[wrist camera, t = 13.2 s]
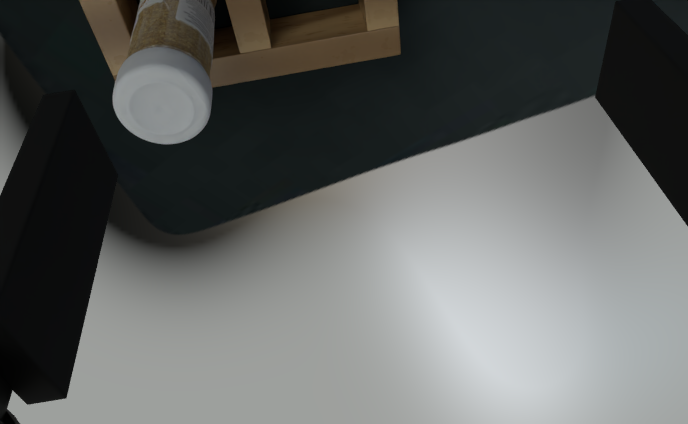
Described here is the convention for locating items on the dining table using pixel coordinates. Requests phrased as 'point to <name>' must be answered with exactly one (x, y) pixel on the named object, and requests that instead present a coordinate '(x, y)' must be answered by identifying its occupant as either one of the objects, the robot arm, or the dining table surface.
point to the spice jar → (167, 71)
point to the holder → (266, 37)
